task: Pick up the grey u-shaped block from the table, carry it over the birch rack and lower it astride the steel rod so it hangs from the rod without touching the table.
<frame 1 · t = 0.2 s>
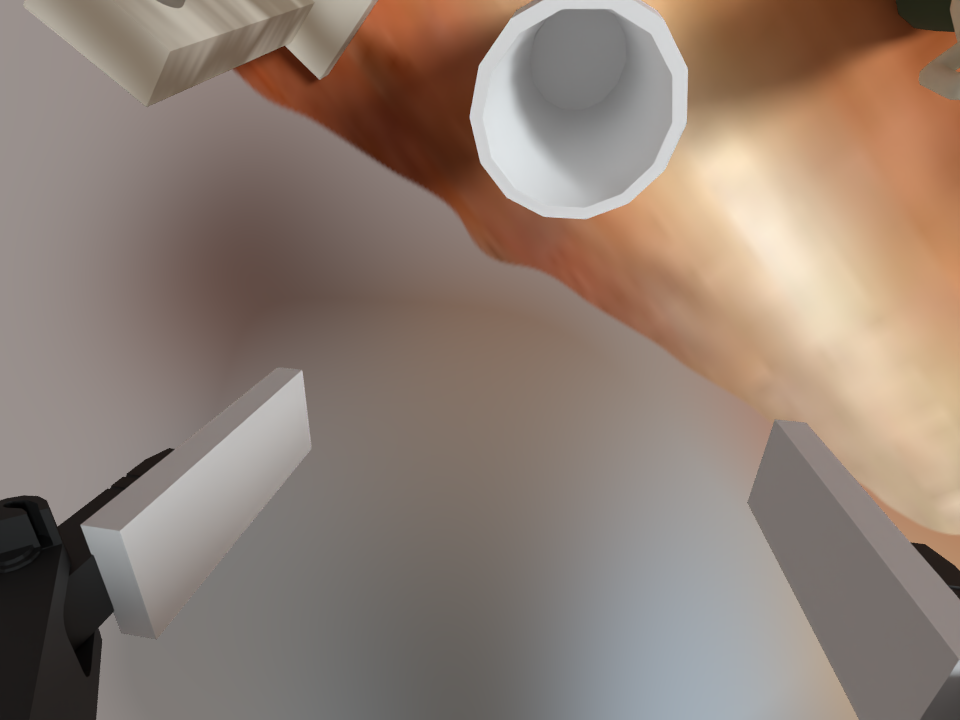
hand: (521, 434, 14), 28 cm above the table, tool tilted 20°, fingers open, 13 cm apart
foam cup: (577, 56, 32), on the table
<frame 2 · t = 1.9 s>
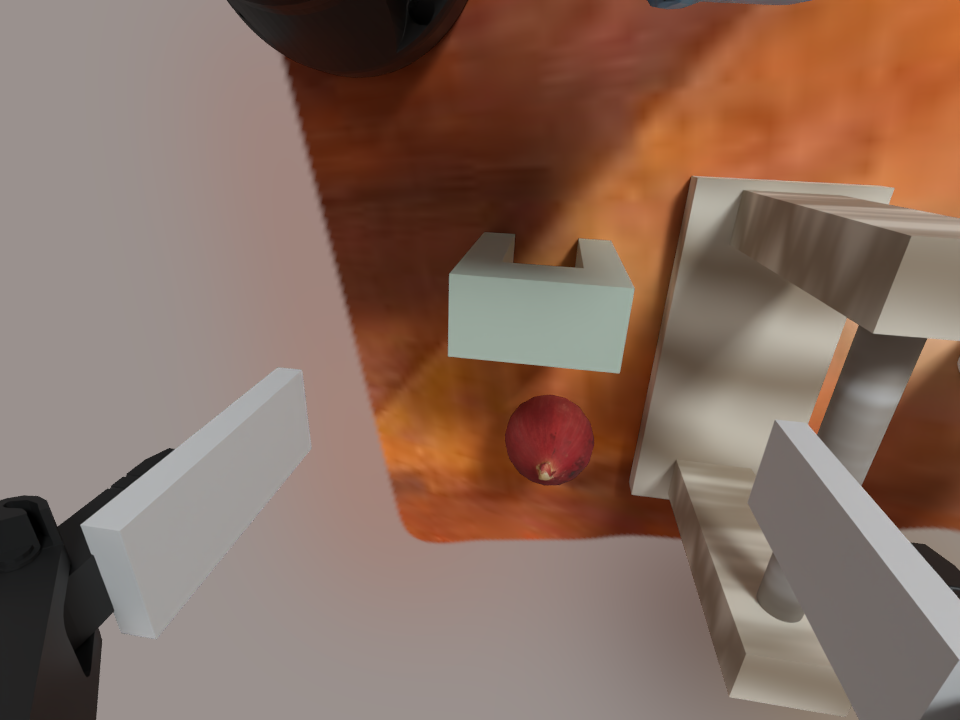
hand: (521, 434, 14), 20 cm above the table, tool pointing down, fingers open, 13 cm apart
rack: (733, 357, 33), on the table
grey u-shaped block: (543, 267, 32), on the table
onion: (550, 410, 37), on the table
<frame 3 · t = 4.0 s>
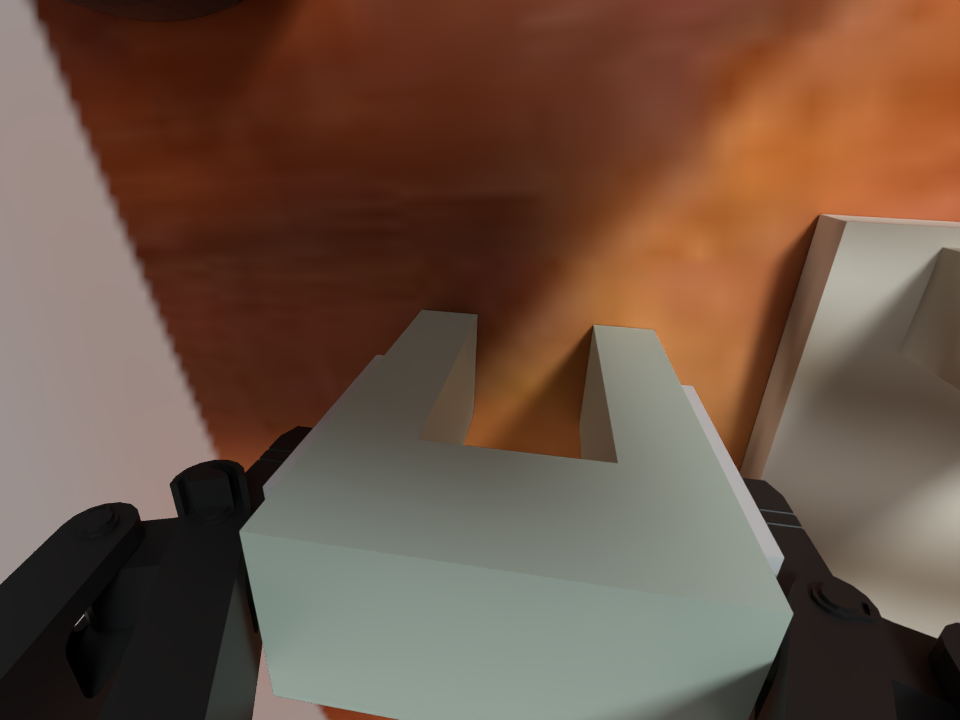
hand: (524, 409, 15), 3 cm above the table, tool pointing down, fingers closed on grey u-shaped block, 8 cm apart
rack: (868, 527, 18), on the table
grey u-shaped block: (530, 371, 18), on the table, touching gripper
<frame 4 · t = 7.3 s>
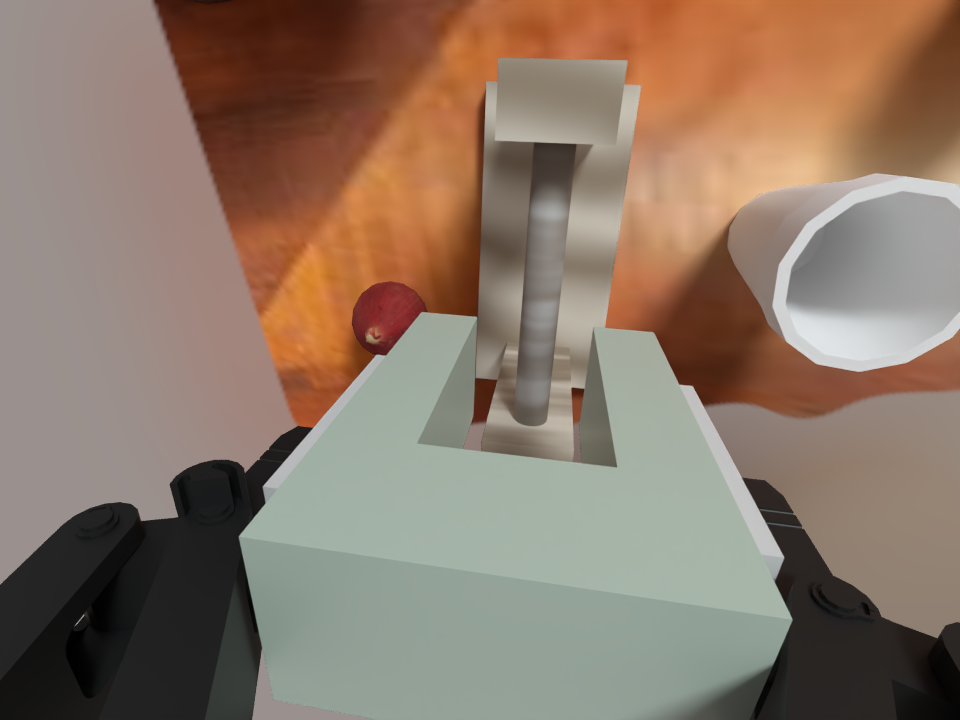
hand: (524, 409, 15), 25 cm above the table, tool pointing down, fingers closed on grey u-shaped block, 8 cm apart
rack: (547, 247, 38), on the table
grey u-shaped block: (529, 373, 18), point 22 cm above the table, touching gripper
onion: (405, 304, 42), on the table
foam cup: (773, 234, 36), on the table
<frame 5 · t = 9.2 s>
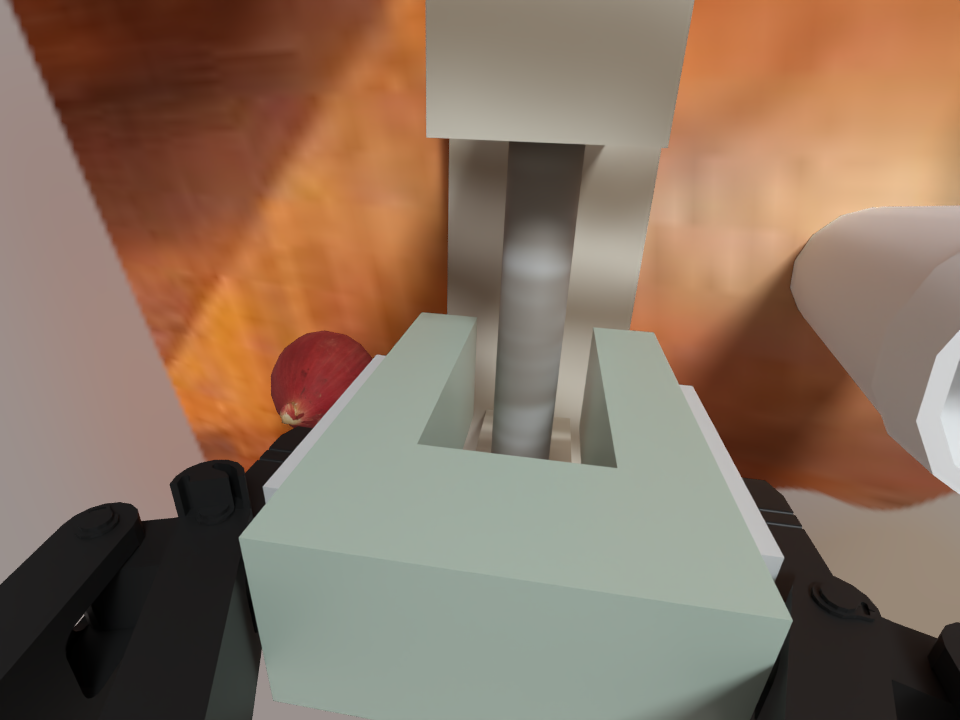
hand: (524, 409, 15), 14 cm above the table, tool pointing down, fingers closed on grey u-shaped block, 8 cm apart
rack: (540, 285, 28), on the table
grey u-shaped block: (529, 374, 18), point 11 cm above the table, touching gripper
onion: (352, 355, 32), on the table
foam cup: (856, 270, 25), on the table
when the fingers open (10 cm above the table, at t = 10.8 s): grey u-shaped block drops 1 cm, resting on rack.
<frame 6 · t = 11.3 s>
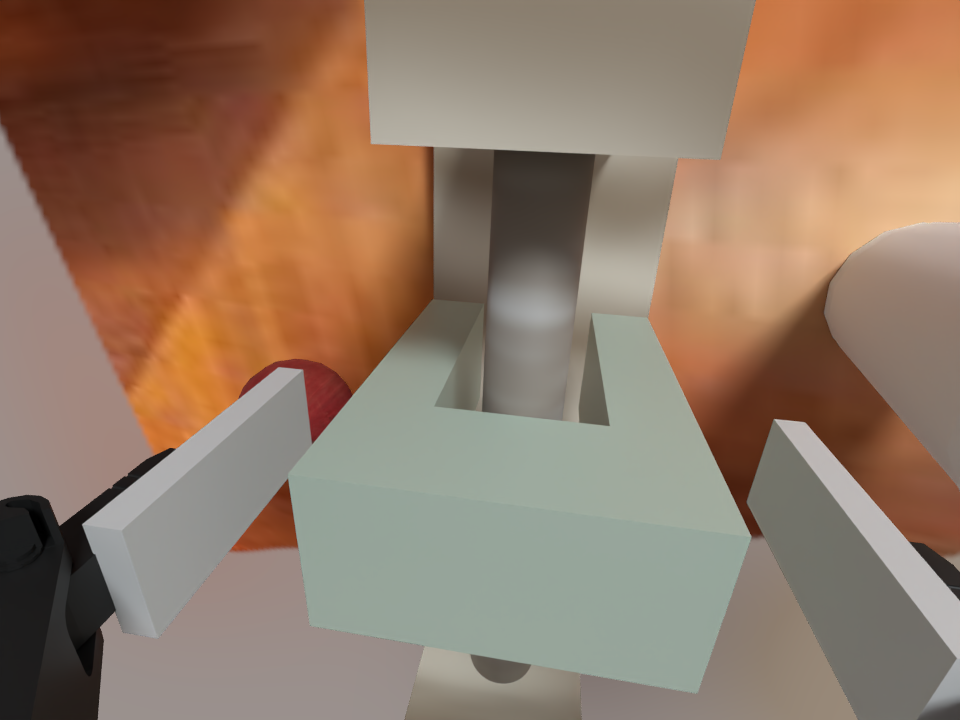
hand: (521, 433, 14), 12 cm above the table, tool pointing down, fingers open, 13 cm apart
rack: (538, 308, 25), on the table
grey u-shaped block: (532, 357, 19), point 6 cm above the table, touching rack
onion: (330, 383, 29), on the table
foam cup: (900, 294, 22), on the table
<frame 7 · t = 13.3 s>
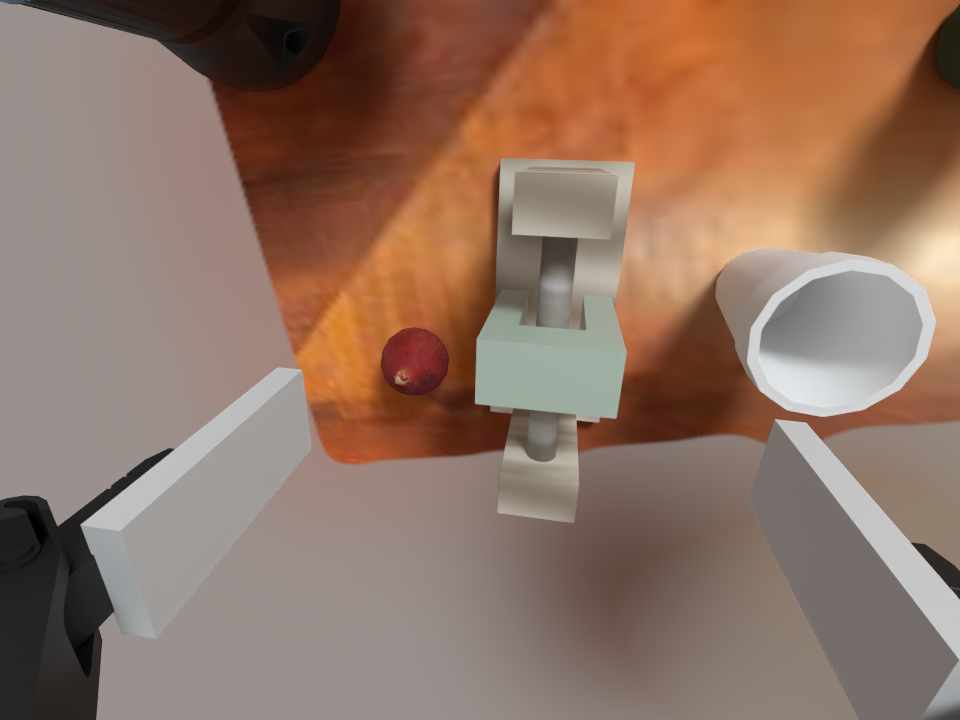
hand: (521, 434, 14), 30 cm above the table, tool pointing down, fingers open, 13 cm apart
rack: (554, 297, 43), on the table
grey u-shaped block: (553, 318, 37), point 6 cm above the table, touching rack
onion: (426, 345, 47), on the table
foam cup: (755, 286, 40), on the table
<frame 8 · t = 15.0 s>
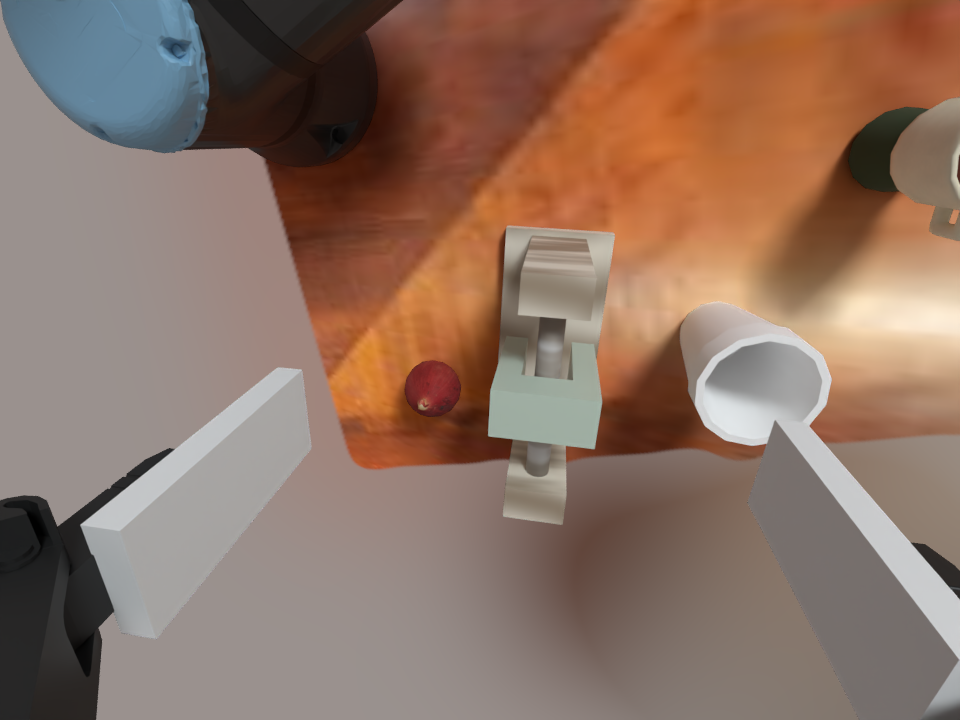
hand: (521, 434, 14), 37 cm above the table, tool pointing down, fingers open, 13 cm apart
character mug: (886, 150, 41), on the table
rack: (548, 336, 52), on the table
grey u-shaped block: (547, 359, 46), point 6 cm above the table, touching rack
onion: (441, 372, 56), on the table
foam cup: (712, 331, 49), on the table
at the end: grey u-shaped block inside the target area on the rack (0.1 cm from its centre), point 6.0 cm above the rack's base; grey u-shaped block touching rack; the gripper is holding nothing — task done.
